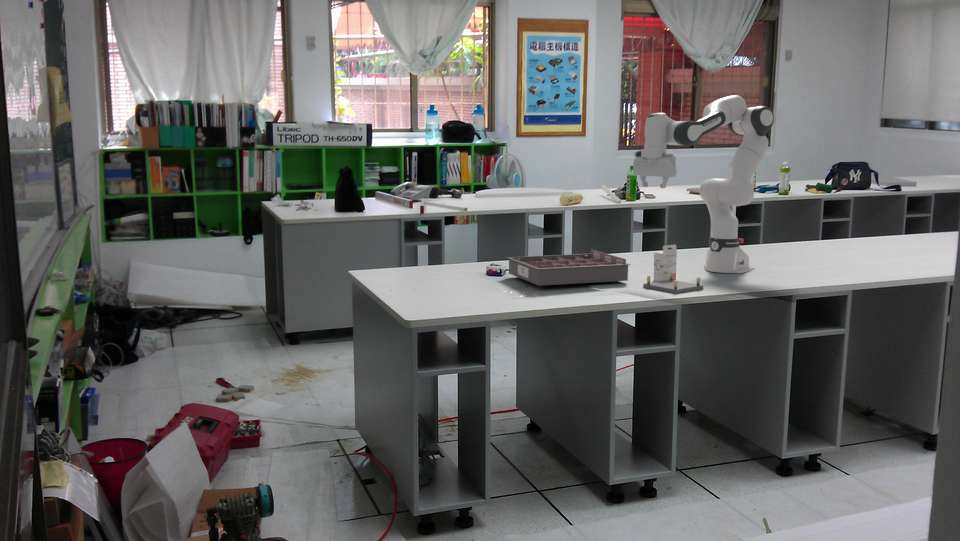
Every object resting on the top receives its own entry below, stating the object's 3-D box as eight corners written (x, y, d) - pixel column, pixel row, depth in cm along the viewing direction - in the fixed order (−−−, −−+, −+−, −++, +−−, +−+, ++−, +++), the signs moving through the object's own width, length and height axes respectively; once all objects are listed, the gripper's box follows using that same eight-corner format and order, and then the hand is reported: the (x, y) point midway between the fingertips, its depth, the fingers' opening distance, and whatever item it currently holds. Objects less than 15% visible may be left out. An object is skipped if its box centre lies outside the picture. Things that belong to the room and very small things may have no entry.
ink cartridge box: (666, 278, 365) (667, 242, 362) (676, 280, 361) (677, 244, 358) (652, 280, 359) (654, 244, 357) (662, 282, 355) (663, 245, 353)
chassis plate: (670, 283, 353) (671, 272, 353) (703, 289, 341) (703, 277, 340) (643, 287, 344) (643, 275, 343) (675, 293, 331) (676, 281, 330)
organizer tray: (506, 276, 368) (506, 252, 366) (593, 271, 381) (593, 248, 380) (537, 289, 338) (537, 263, 337) (630, 284, 352) (631, 259, 350)
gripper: (680, 153, 355) (679, 188, 357) (641, 152, 371) (640, 185, 373) (670, 154, 351) (668, 189, 353) (631, 152, 367) (630, 186, 369)
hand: (653, 187), depth 363 cm, fingers open, 8 cm apart
